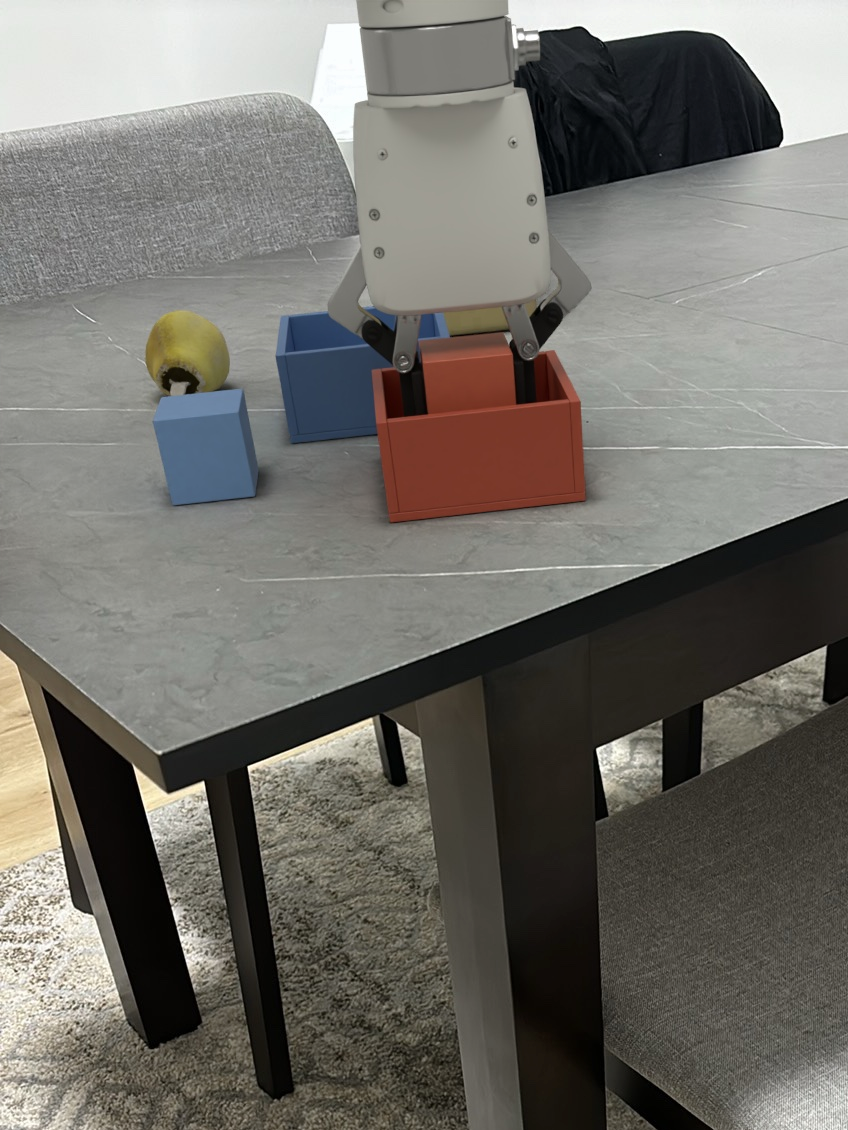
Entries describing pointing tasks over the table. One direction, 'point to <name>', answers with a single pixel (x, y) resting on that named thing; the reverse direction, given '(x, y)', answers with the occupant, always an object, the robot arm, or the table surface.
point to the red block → (467, 373)
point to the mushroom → (186, 354)
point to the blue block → (206, 446)
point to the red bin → (481, 450)
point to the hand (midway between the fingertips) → (471, 429)
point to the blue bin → (333, 374)
